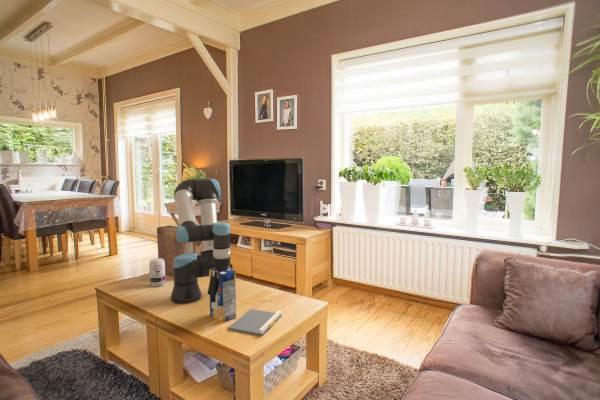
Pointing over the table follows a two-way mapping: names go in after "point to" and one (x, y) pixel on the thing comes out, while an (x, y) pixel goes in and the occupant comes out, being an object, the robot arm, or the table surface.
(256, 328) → the grey slab
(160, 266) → the supplement can
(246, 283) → the table surface
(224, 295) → the beverage box
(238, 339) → the table surface
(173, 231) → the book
